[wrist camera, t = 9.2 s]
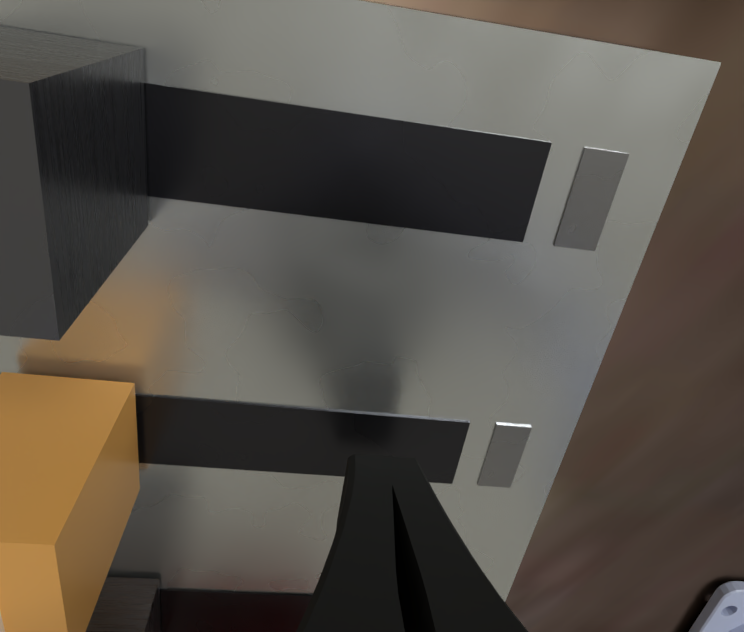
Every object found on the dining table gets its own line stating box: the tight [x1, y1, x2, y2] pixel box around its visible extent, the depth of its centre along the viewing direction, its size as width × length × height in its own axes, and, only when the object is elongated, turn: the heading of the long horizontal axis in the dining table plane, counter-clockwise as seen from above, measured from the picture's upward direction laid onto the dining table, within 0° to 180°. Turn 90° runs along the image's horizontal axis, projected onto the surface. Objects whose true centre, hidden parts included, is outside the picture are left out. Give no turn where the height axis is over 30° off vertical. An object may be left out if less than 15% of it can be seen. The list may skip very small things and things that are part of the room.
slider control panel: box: [0, 0, 721, 632], centre depth 12 cm, size 17×14×6 cm
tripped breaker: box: [0, 372, 140, 632], centre depth 10 cm, size 3×2×4 cm
